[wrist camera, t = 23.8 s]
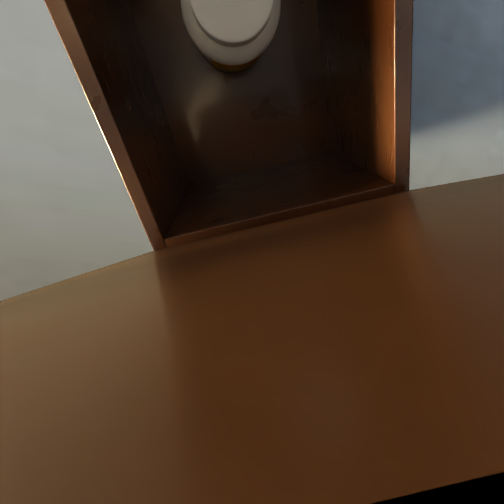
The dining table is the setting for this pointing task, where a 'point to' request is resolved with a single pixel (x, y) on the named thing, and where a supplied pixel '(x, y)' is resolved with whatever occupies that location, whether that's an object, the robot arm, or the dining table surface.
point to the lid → (271, 364)
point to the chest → (246, 111)
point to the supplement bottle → (231, 30)
